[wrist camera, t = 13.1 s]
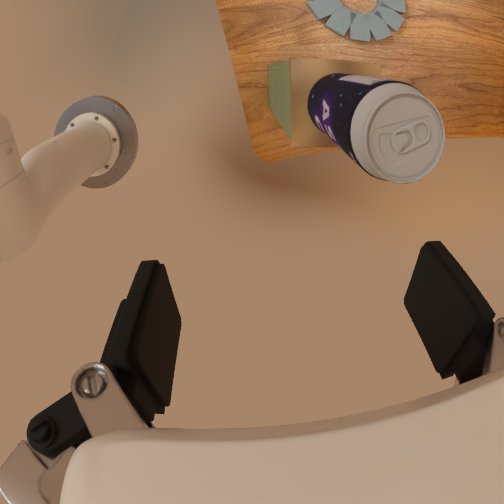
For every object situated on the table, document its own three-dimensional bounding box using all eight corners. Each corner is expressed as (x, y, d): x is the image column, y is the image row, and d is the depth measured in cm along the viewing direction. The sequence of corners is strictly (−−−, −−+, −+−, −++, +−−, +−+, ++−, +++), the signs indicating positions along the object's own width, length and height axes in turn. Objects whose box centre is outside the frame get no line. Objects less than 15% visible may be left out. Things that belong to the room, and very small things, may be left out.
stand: (268, 109, 44) (292, 147, 24) (266, 63, 39) (290, 57, 19) (316, 109, 44) (376, 148, 24) (316, 64, 39) (380, 65, 19)
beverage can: (293, 89, 21) (337, 108, 11) (351, 63, 20) (433, 70, 10) (322, 145, 24) (378, 208, 14) (376, 120, 22) (458, 166, 13)
